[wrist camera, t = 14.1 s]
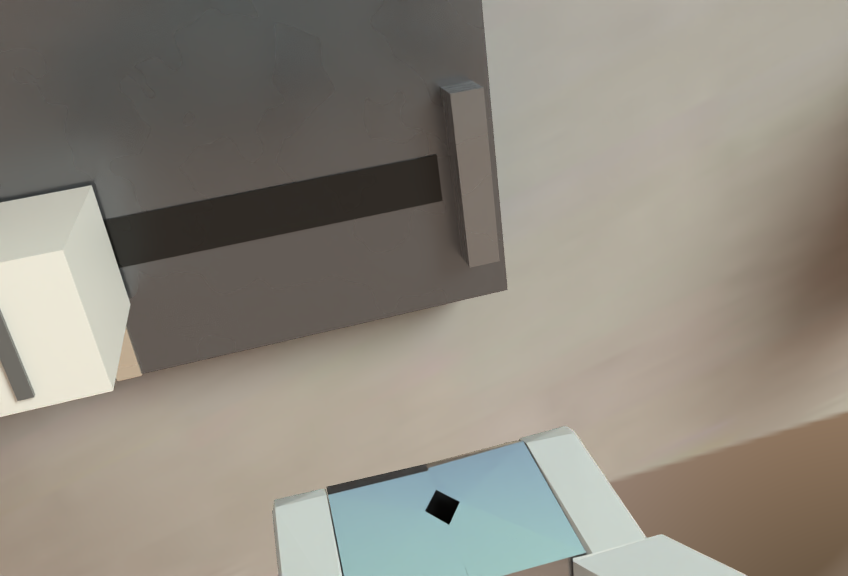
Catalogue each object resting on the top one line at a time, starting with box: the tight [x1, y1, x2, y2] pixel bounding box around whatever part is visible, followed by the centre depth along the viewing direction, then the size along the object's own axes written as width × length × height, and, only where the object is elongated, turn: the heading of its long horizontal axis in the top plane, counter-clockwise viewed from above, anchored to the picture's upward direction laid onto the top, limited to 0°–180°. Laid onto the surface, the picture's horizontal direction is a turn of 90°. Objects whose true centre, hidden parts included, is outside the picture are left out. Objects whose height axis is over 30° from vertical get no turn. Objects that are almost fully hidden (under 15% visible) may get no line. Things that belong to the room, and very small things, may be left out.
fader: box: [0, 185, 130, 417], centre depth 16 cm, size 3×3×4 cm
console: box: [0, 0, 507, 381], centre depth 17 cm, size 14×20×3 cm
